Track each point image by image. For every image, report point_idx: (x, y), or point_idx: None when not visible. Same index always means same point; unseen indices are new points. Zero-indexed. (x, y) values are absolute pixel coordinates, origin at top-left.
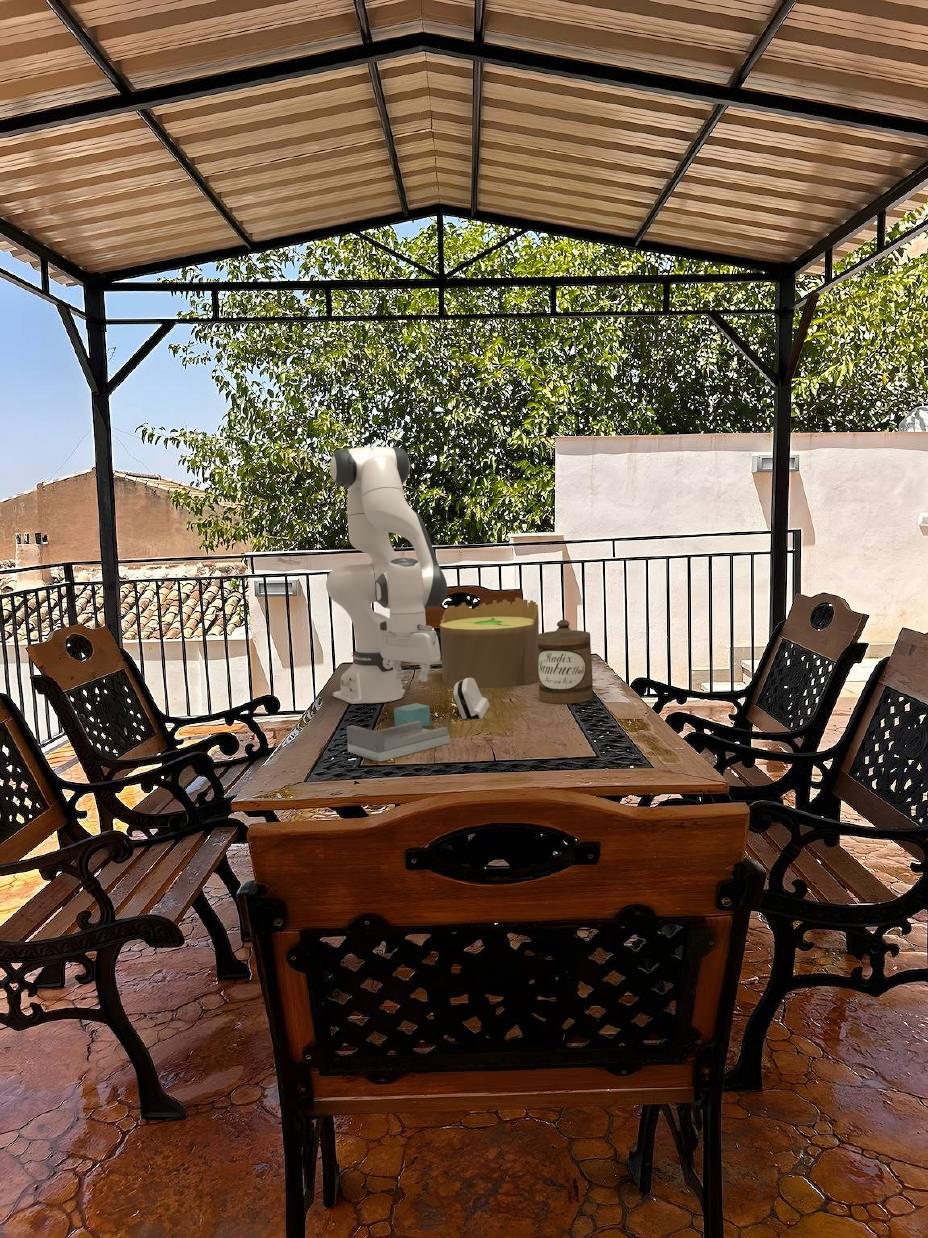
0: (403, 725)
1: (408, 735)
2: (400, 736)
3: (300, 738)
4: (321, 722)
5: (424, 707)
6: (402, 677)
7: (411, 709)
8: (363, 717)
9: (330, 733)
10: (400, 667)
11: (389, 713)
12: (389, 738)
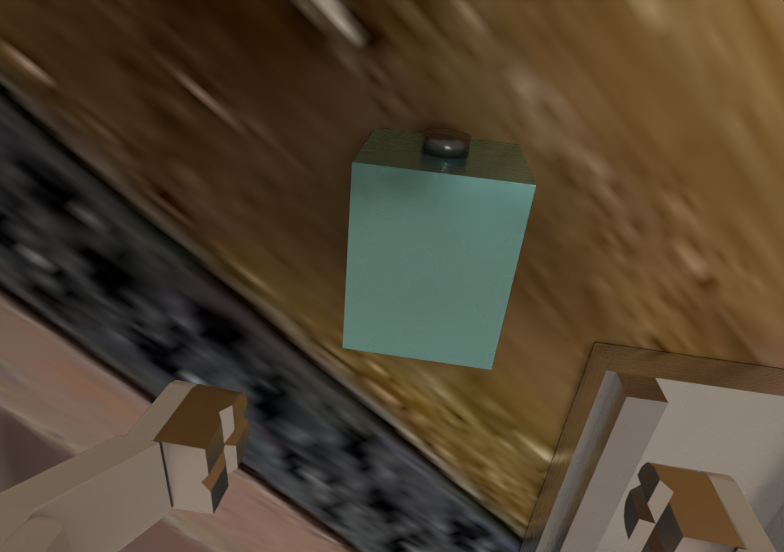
0: (613, 485)
1: None
2: None
3: (212, 539)
4: (22, 377)
5: (522, 232)
6: (246, 405)
7: (483, 327)
8: (46, 219)
9: None
10: (119, 476)
11: (43, 55)
12: (616, 544)
